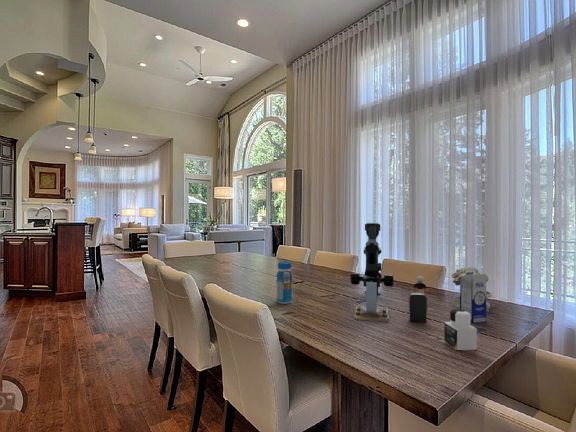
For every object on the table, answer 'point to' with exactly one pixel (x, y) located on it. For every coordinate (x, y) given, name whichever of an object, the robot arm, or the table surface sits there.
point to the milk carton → (473, 296)
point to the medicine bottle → (460, 331)
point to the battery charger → (417, 307)
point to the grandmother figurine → (419, 285)
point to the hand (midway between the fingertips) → (371, 296)
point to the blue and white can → (284, 283)
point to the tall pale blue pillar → (371, 297)
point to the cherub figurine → (457, 281)
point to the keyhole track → (371, 314)
